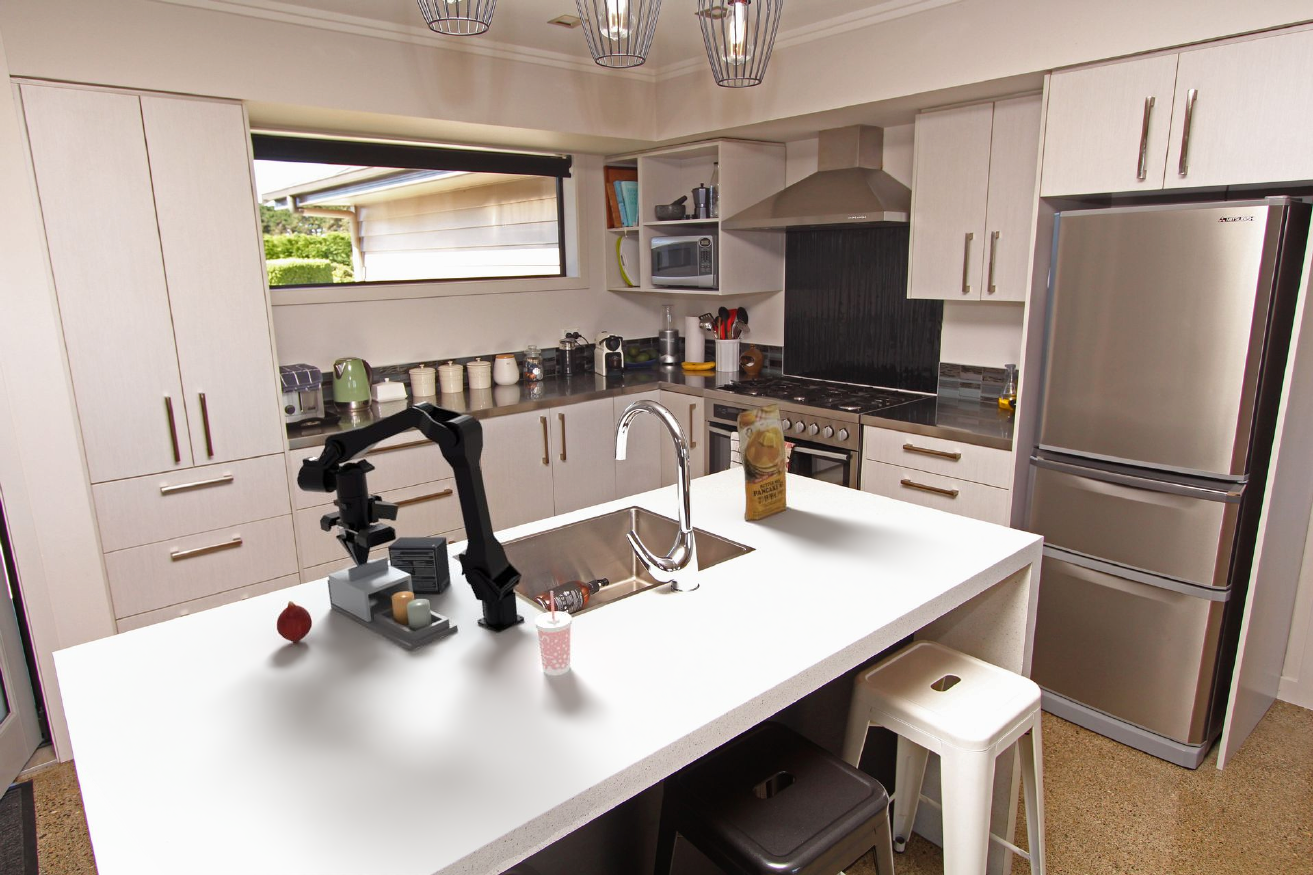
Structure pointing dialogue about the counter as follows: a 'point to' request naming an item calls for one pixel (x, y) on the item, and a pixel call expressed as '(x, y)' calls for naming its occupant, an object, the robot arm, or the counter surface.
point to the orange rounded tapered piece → (401, 606)
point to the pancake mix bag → (763, 461)
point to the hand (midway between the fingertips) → (362, 568)
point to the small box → (422, 562)
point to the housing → (410, 636)
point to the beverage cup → (554, 640)
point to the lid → (366, 585)
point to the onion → (294, 622)
